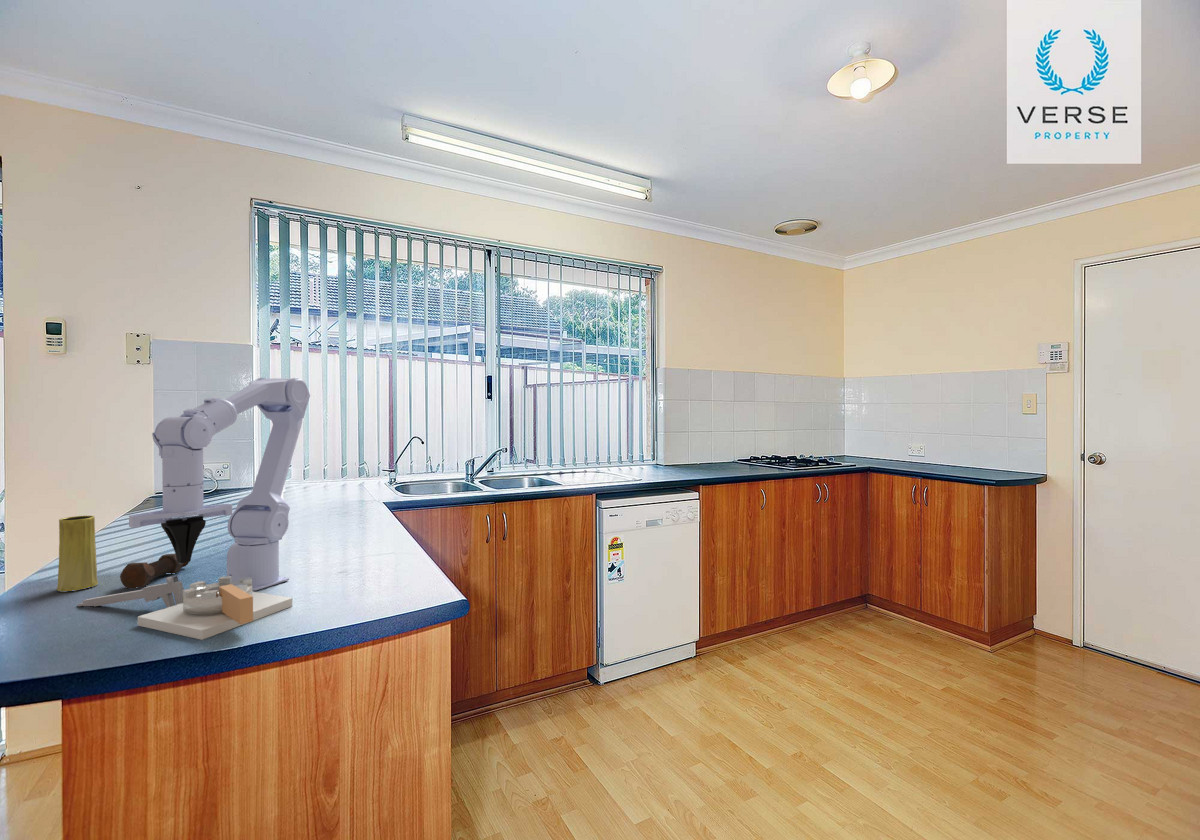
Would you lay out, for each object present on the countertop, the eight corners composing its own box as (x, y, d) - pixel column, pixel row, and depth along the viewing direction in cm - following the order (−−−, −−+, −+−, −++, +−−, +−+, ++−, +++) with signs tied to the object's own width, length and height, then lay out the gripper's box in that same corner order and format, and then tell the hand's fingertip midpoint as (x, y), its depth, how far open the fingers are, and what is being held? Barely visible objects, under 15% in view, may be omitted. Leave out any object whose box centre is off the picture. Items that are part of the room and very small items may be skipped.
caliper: (184, 609, 99) (184, 575, 99) (179, 611, 98) (179, 576, 98) (82, 606, 101) (82, 572, 100) (76, 608, 99) (75, 573, 99)
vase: (49, 590, 108) (49, 519, 108) (88, 581, 114) (87, 514, 114) (66, 594, 106) (66, 521, 106) (104, 585, 112) (104, 516, 112)
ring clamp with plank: (175, 605, 94) (175, 582, 94) (241, 590, 102) (241, 569, 102) (209, 632, 83) (209, 606, 83) (280, 613, 91) (280, 590, 91)
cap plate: (137, 625, 91) (137, 615, 91) (232, 595, 106) (232, 586, 106) (201, 639, 85) (201, 629, 85) (292, 606, 100) (292, 596, 100)
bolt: (186, 575, 125) (137, 595, 110) (166, 565, 124) (114, 583, 110) (200, 553, 125) (153, 570, 110) (180, 543, 125) (130, 558, 110)
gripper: (138, 491, 87) (139, 575, 87) (239, 482, 99) (239, 556, 99) (124, 487, 91) (125, 568, 91) (223, 479, 103) (223, 550, 103)
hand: (183, 561), depth 95 cm, fingers closed
